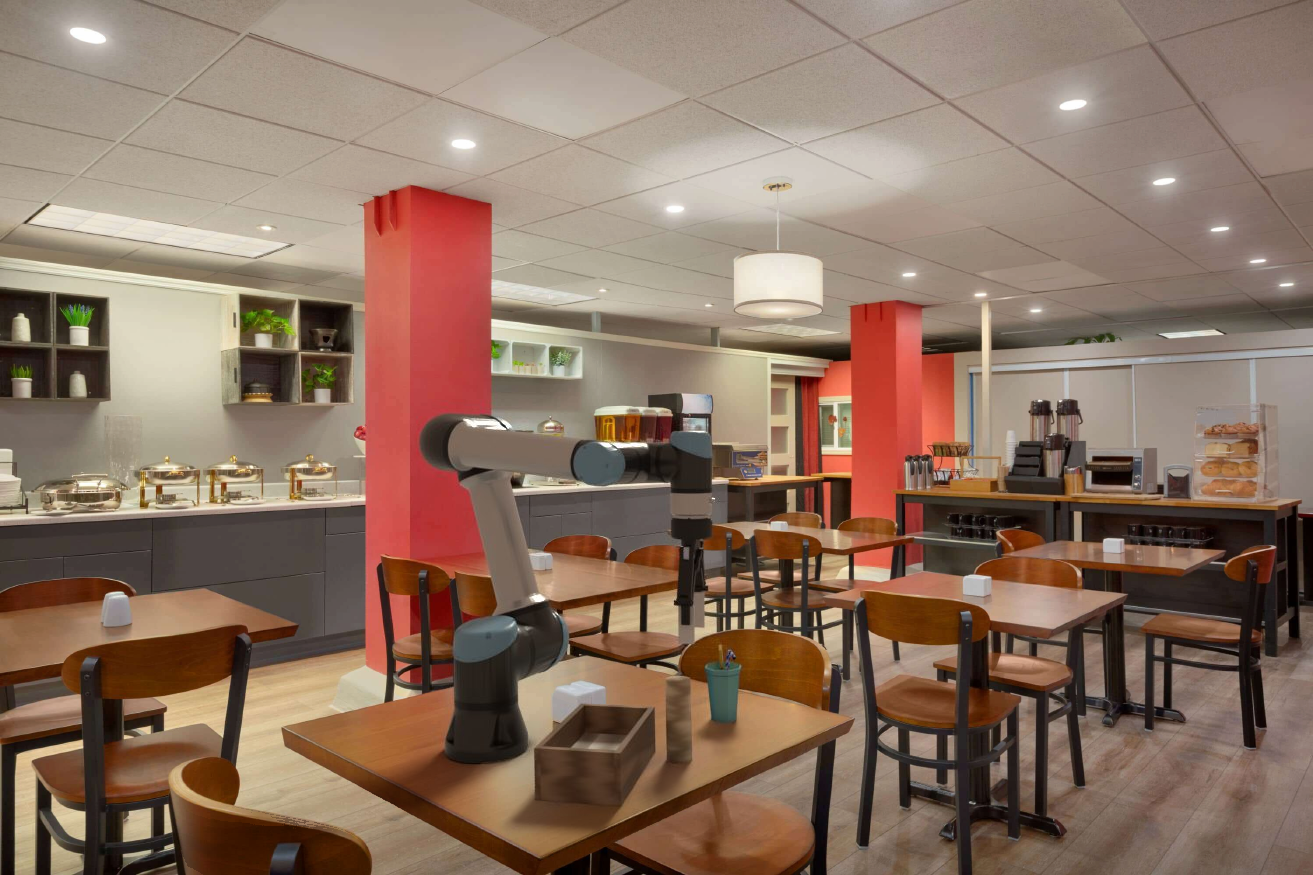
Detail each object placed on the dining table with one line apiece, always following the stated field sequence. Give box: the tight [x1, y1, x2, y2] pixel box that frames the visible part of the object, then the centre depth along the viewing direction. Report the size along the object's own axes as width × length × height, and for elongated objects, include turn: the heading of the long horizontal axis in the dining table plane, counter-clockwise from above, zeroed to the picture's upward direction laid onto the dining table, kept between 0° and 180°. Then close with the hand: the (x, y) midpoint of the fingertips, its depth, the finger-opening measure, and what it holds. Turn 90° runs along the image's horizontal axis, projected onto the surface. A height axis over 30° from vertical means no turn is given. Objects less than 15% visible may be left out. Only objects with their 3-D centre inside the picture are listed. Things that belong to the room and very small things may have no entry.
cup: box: [704, 644, 742, 724], centre depth 167 cm, size 14×8×15 cm, turn 12°
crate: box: [533, 702, 657, 807], centre depth 140 cm, size 14×24×8 cm, turn 167°
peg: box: [664, 675, 693, 765], centre depth 146 cm, size 4×4×14 cm
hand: (692, 634), depth 149 cm, fingers open, 13 cm apart
